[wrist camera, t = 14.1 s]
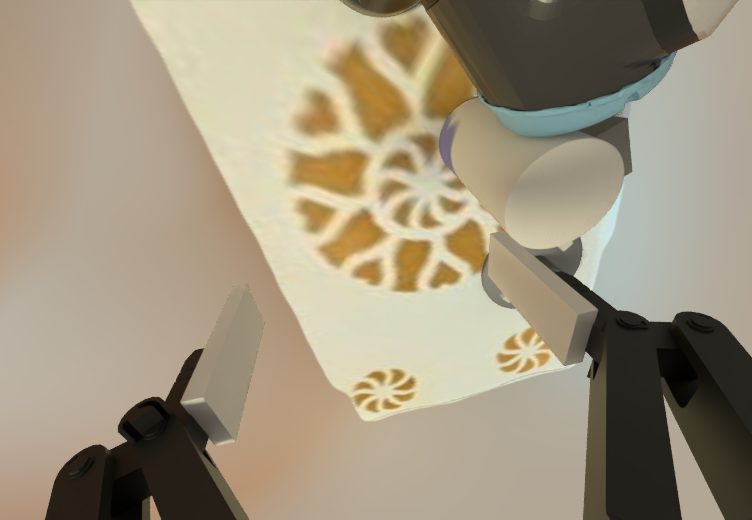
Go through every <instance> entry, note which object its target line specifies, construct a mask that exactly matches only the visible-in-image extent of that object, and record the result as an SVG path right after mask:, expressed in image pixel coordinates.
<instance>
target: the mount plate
mask: <svg viewBox="0 0 752 520" xmlns="http://www.w3.org/2000/svg"><path fill="white" fill-rule="evenodd" d="M507 234H508V233H507ZM521 246H522V245H521ZM522 247H524V246H522ZM524 248H525V249H526V250H527V251H528V252H530V253H531V254H532V255H533V256H537V255H541V256H544V257H546V258H547V259H548V260H549V261H551V262H552V263H553V264H554V265H556V266H557V267H558V268H559V269H561V270H562V271H563V272H565V273H567V274H569V275H572V276H574V274H575V272H576V271H577V269H578V267H579V264H580V261H581V257H582V243H581V240H580V237H578V238H576V239H575V240H573V241H571V242H568V243H566V244H564V245H561V246H557V247H554V248H548V249H531V248H527V247H524ZM488 264H489V254H488V256H487V257H486V260H485V262H484V265H483V268H482V275H481V277H482V285H483V288H484V290H485V292H486V293H487V295H488V296H489V297H490V298H491V299H492V301H494V302H495V303H496V304H498V305H500V306H502V307H506V308H511V309H516V308H515V307H514V306H513V305H512V303H511V302H510V301H509V300H508V299H507V298H506V296H505V295H504V294H503V293H502V292H501V290H500V289H499V288H498V287H497V286H496V284H495V283H494V282H493V281H492V280H491V279H490V277H489V276H488Z"/></svg>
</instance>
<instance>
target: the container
mask: <svg viewBox="0 0 752 520" xmlns="http://www.w3.org/2000/svg"><path fill="white" fill-rule="evenodd" d="M439 148H440V153H441V156H442V159H443V161H444V162H445V164H446V165H447V166H448V167H449V168H450V169H451V170H452V172H453V173H454V174H455V175H456V176H457V177H458V178H459V179H460V181H461V182H462V183H463V184H464V185H465V186H466V187H467V188H468V190H469V191H470V192H471V193H472V194H473V195H474V196H475V197H476V199H477V200H478V201H479V202H480V203H481V204H482V205H483V206H484V208H485V209H486V210H487V211H488V212H489V213H490V214H491V215H492V217H493V218H494V219H495V220H496V221H497V222H498V223H499V224H500V226H501V227H502V228H503V229H504V230H505V231H506V232H507V233H508V235H509V236H510V237H512V238H513V239H514V240H515V241H516V242H518V243H519V244H520V245H522V246H524V247H527V248H531V249H548V248H554V247H557V246H561V245H564V244H566V243H568V242H571V241H573V240H575V239H576V238H578V237H580V236H582V235H583V234H585V233H586V232H587V231H589V230H590V229H591V228H593V227H594V226H595V225H596V224H597V223H598V222H599V221H600V220H601V219H602V218H603V217H604V216H605V215H606V214H607V212H608V211H609V210H610V208H611V207H612V205H613V204H614V202H615V200H616V199H617V197H618V195H619V192H620V190H621V187H622V184H623V179H624V163H623V159H622V157H621V155H620V153H619V151H618V150H617V149H616V148H615V147H614V146H613V145H611V144H610V143H608V142H606V141H604V140H601V139H598V138H596V137H593V136H590V135H588V134H585V133H583V132H580V131H574V132H570V133H566V134H561V135H556V136H549V137H528V136H521V135H519V134H515V133H514V132H512V131H510V130H508V129H506V128H505V127H504V126H503V125H502V124H501V123H500V122H499V120H498V119H497V117H496V116H495V115H494V113H493V112H492V111H491V109H490V108H489V107H487V106H486V105H485V104H483V103H482V101H481V100H480V98H479V97H477V98H473V99H470V100H468V101H466V102H464V103H462V104H461V105H459V106H458V107H457V108H456V109H455V110H454V111H453V112H452V113H451V114H450V115H449V117H448V118H447V120H446V122H445V123H444V125H443V128H442V131H441V134H440V140H439Z"/></svg>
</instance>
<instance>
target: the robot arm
mask: <svg viewBox="0 0 752 520" xmlns="http://www.w3.org/2000/svg"><path fill="white" fill-rule="evenodd" d="M340 1H341V2H343V3H344V4H345V5H347V6H348V7H349V8H351V9H353V10H355V11H357V12H359V13H361V14H364V15H368V16H373V17H389V16H394V15H397V14H400V13H403V12H405V11H407V10H409V9H410V8H412V7H413V6H415V5H416V4H417V3H418V2H420V1H421V3H422V5H423V6H424V8H425V9H426V12H427V14H428V15H429V17H430V18H431V20H432V21H433V23H434V24H435V26H436V27H437V29H438V30H439V32H440V34H441V35H442V37H443V38H444V40H445V41H446V43H447V44H448V46H449V47H450V49H451V50H452V52H453V54H454V55H455V57H456V58H457V60H458V61H459V63H460V64H461V66H462V67H463V69H464V70H465V72H466V74H467V75H468V77H469V78H470V80H471V81H472V83H473V84H474V86H475V87H476V89H477V95H478V97H479V98H480V100H481V101H482V103H483V104H485V105H486V106H487V107H489V108H490V109H491V111H492V112H493V113H494V115H495V116H496V117H497V119H498V120H499V122H500V123H501V124H502V125H503V126H504V127H505V128H506V129H508V130H510V131H512V132H514V133H515V134H519V135H521V136H528V137H549V136H556V135H561V134H566V133H570V132H574V131H577V130H580V129H583V128H586V127H589V126H592V125H594V124H597V123H599V122H601V121H603V120H605V119H608V118H610V117H612V116H613V115H615V114H617V113H619V112H621V111H622V110H623V109H624V107H625V103H627V102H629V101H635V100H639V99H641V98H642V97H643V96H645V95H646V94H647V93H649V92H650V91H651V90H652V89H653V88H655V87H656V85H657V84H658V83H659V82H660V81H661V80H662V79H663V77H664V76H665V75H666V73H667V72H668V71H669V69H670V67H671V64H672V63H673V59H674V57H675V55H676V53H677V50H679V49H682V48H684V47H686V46H688V45H691V44H693V43H695V42H697V41H700V40H702V39H704V38H706V37H708V36H710V35H711V34H712V33H713V32H714V30H715V29H716V28H717V27H718V25H719V24H720V23H721V21H722V20H723V19H724V18H725V17H726V15H727V14H728V13H729V12H730V10H731V9H732V8H733V7H734V5H735V4H736V3H737V2H738V0H340ZM488 276H489V277H490V279H491V280H492V281H493V282H494V283H495V284H496V286H497V287H498V288H499V289H500V290H501V292H502V293H503V294H504V295H505V296H506V298H507V299H508V300H509V301H510V302H511V303H512V305H513V306H514V307H515V308H516V309H517V311H518V312H519V313H520V314H521V315H522V317H523V318H524V319H525V320H526V321H527V322H528V324H529V325H530V326H531V327H532V328H533V330H534V331H535V332H536V333H537V334H538V336H539V337H540V338H541V339H542V340H543V341H544V343H545V344H546V345H547V346H548V347H549V349H550V350H551V351H552V352H553V353H554V355H555V356H556V357H557V358H558V359H559V360H560V362H561V363H562V364H563V365H564V366H566V365H571V364H575V363H579V362H582V361H583V358H584V355H585V352H587V353H588V354H589V355H590V356H591V357H592V358H593V360H592V364H591V366H590V370H589V372H588V375H587V377H588V378H590V395H589V416H588V434H587V454H586V474H585V492H584V493H585V494H584V513H583V520H682V517H681V511H680V504H679V497H678V491H677V485H676V478H675V471H674V464H673V458H672V451H671V444H670V438H669V432H668V425H667V418H666V412H665V405H664V398H663V395H664V397H665V399H666V401H667V403H668V405H669V407H670V408H671V411H672V413H673V415H674V417H675V419H676V421H677V423H678V425H679V427H680V429H681V431H682V433H683V435H684V437H685V439H686V441H687V443H688V445H689V447H690V449H691V452H692V454H693V456H694V458H695V460H696V462H697V464H698V466H699V468H700V470H701V472H702V474H703V476H704V478H705V480H706V482H707V484H708V486H709V488H710V490H711V492H712V494H713V496H714V498H715V500H716V502H717V504H718V506H719V508H720V510H721V512H722V514H723V516H724V519H725V520H752V357H751V356H750V355H749V354H748V352H747V351H746V350H745V349H744V348H743V346H742V345H741V344H740V343H739V342H738V341H737V339H736V338H735V337H734V336H733V335H732V333H731V332H730V331H729V330H728V329H727V327H726V326H725V325H723V324H722V323H721V322H720V321H718V320H716V319H714V318H712V317H710V316H707V315H704V314H701V313H696V312H681V313H678V314H676V316H675V318H674V320H673V322H649V321H648V320H646V319H645V318H644V317H642V316H640V315H638V314H635V313H632V312H629V311H621V310H620V311H617V310H616V309H615V308H613V307H612V306H611V305H610V304H608V303H607V302H606V301H604V300H603V299H602V298H601V297H599V296H598V295H597V294H596V293H594V292H593V291H592V290H591V291H590V289H589V288H588V287H587V286H585V285H583V284H582V283H581V282H580V281H579V280H578V279H576V278H575V277H574V276H572V275H569V274H567V273H565V272H562V271H559V272H555V273H554V272H552V271H551V270H550V269H549V268H548V267H546V266H545V265H544V264H543V263H542V262H540V261H539V260H538V259H537V258H536V257H534V256H533V255H532V254H531V253H530V252H528V251H527V250H526V249H525V248H524V247H522V246H521V245H520V244H519V243H518V242H516V241H515V240H514V239H513V238H512V237H510V236H509V235H508V234H507V233H506V232H504V231H501V232H496V233H491V234H490V245H489V264H488ZM264 325H265V321H264V319H263V317H262V315H261V313H260V311H259V308H258V306H257V304H256V302H255V300H254V298H253V295H252V293H251V291H250V289H249V287H248V285H247V284H243V285H238V286H233V287H232V289H231V291H230V293H229V295H228V298H227V300H226V302H225V304H224V307H223V308H222V311H221V313H220V315H219V317H218V320H217V322H216V324H215V326H214V328H213V331H212V333H211V335H210V337H209V339H208V342H207V344H206V346H205V348H203V349H198V350H195V351H194V352H193V353H192V354H191V355H190V356H189V357H188V358H187V360H186V361H185V363H184V365H183V367H182V369H181V371H180V372H181V373H179V375H178V377H177V379H176V382H175V383H174V385H173V387H172V389H171V391H170V393H169V395H168V397H167V399H166V401H164V400H162V399H161V398H160V397H151V398H148V399H145V400H143V401H141V402H140V403H138V404H136V405H135V406H134V407H132V408H131V409H130V410H129V411H128V412H127V413H126V414H125V415H124V417H123V418H122V419H121V421H120V423H119V425H118V432H119V433H120V434H121V435H122V436H123V437H124V438H125V439H126V440H127V442H125V443H123V444H121V445H119V446H117V447H115V448H113V449H111V450H108V449H107V448H106V447H104V446H102V445H92V446H90V447H88V448H85V449H83V450H82V451H80V452H79V453H77V454H76V455H75V456H73V457H72V458H71V459H70V460H69V461H68V462H67V463H66V464H65V465H64V466H63V468H62V469H61V470H60V471H59V473H58V475H57V477H56V479H55V481H54V485H53V489H52V493H51V498H50V502H49V506H48V509H47V514H46V518H45V520H150V496H153V499H154V502H155V504H156V507H157V510H158V512H159V515H160V517H161V520H249V518H248V516H247V515H246V513H245V512H244V510H243V508H242V507H241V505H240V503H239V502H238V500H237V499H236V497H235V495H234V494H233V492H232V490H231V489H230V487H229V486H228V484H227V482H226V481H225V479H224V478H223V476H222V474H221V473H220V471H219V469H218V468H217V466H216V464H215V463H214V461H213V460H212V458H211V456H210V455H209V453H208V452H207V451H206V449H205V447H206V444H207V441H208V438H209V439H210V440H211V441H212V443H213V444H214V445H215V446H218V445H222V444H226V443H230V442H235V441H236V438H237V434H238V430H239V425H240V421H241V417H242V413H243V409H244V405H245V401H246V397H247V393H248V389H249V385H250V381H251V377H252V373H253V369H254V365H255V361H256V357H257V353H258V349H259V345H260V341H261V337H262V333H263V329H264Z"/></svg>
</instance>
